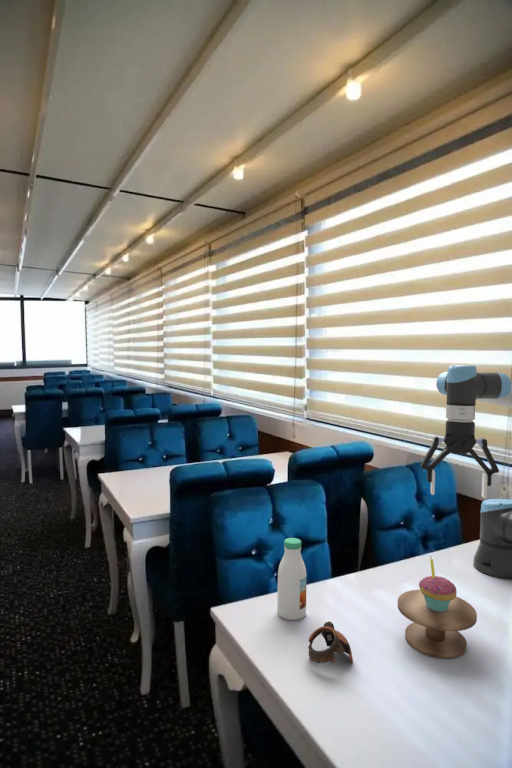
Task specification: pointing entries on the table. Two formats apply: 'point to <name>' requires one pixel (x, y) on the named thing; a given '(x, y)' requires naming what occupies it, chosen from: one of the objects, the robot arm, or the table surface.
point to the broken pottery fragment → (329, 644)
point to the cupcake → (437, 591)
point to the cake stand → (436, 625)
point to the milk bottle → (292, 582)
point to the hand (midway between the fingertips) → (458, 495)
